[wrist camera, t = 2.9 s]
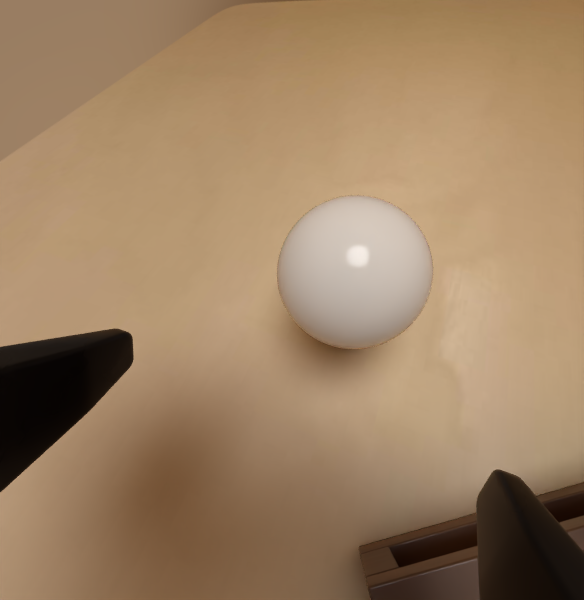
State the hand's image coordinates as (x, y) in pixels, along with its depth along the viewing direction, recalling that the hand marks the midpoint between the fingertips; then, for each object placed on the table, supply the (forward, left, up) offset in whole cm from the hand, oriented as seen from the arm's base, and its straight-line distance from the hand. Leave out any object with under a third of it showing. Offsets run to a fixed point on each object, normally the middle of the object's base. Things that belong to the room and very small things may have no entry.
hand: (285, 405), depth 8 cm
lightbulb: (+4, +5, -12) cm, 14 cm away
